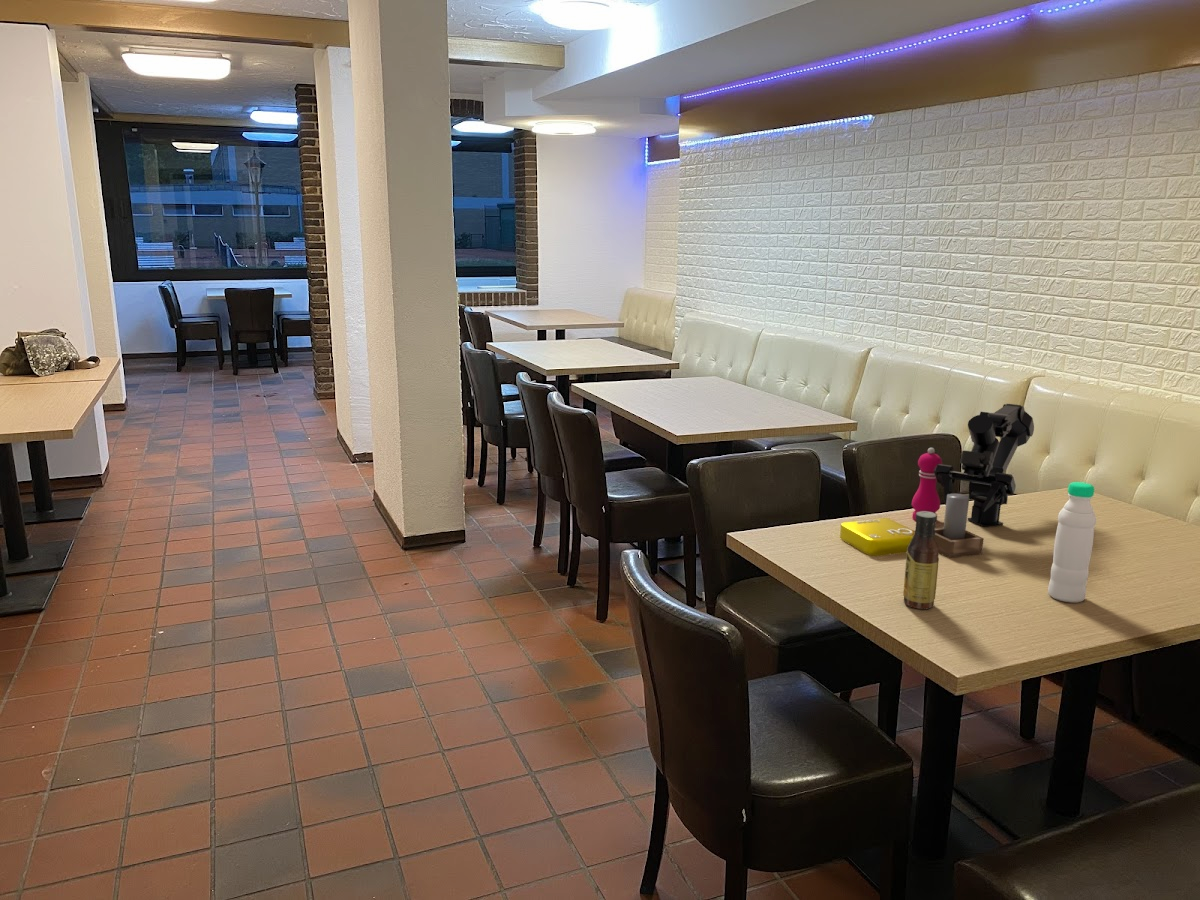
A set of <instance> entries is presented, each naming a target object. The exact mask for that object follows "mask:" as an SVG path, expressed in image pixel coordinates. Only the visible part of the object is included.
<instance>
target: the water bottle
mask: <svg viewBox="0 0 1200 900" xmlns="http://www.w3.org/2000/svg"><path fill="white" fill-rule="evenodd" d="M1067 493H1068V494H1067V495H1068V498H1069V499H1068V500H1067V502H1065V504H1064V506H1063V507H1062V509H1060V511H1059V513H1058V516H1057V519H1058V523H1057V527H1056V531H1055V532H1056V533H1055V537H1054V545H1053V556H1052V557H1053V561H1052V564H1051V568H1050V580H1049V583H1048V589H1047V590H1048V591H1047V592H1048V595H1049V596H1050V597H1052V598H1053V599H1055V600H1057V601H1060V602H1065V603H1070V604H1071V603H1072V604H1074V603H1075V604H1076V603H1081V602H1083V601H1084V600H1085V598H1086V595H1087V581H1088V578H1089V566H1090V562H1091V557H1092V551H1093V545H1094V539H1095V538H1094V536H1095V527H1096V524H1097V517H1096V516H1097V515H1096V514H1095V511H1094V507H1093V506H1092V503H1091V500H1092V499H1093V496H1094V494H1095V486H1093V484H1091V483H1087V482H1082V481H1079V482H1078V481H1076V482H1075V481H1074V482H1070V483H1069V484H1068V487H1067Z"/></svg>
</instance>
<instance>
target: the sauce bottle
mask: <svg viewBox="0 0 1200 900" xmlns="http://www.w3.org/2000/svg"><path fill="white" fill-rule="evenodd" d="M936 514H937V513H936ZM936 514H935V513H933V512H928V511H921V512H917V513H916V518H915V519H916V521H915V530H914V531H915V534H914V536H913V538H912V540H911V542H910V544H909V546H908V548H907V553H906V558H905V568H904V580H903V581H904V582H903V593H902V594H903V595H902V596H903V602H904V604H905V605H906V606H908V607H910V608H913V609H918V610H927V609H930V608H933V606H935V605H934V603H935V599H936V592H937V581H938V572H939V561H940V559H939V554H940V553H939V545H938V543H937V541H936V539H935V537H934V535H935V529H936V523H937V521H938V514H937V515H936Z"/></svg>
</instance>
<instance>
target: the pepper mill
mask: <svg viewBox="0 0 1200 900" xmlns="http://www.w3.org/2000/svg"><path fill="white" fill-rule="evenodd" d="M935 452H936V451H935V448H934V447H929V448H928V449H927V452H926V453H923V454H921V455H920V457H919V459H918V460H917V466H918V467H919V469H920V470H919V471H918V476H919V478H920V479H919V480H920V481H919V486H918V488H917V491H916V492H915V494H914V495H913V498H912V500H911V507H912V508H913V509H914V510H913V511H912V517H911V519H912V520H913V521H915V522H916V519H915V518H916V513H917V512H921V511H928V512H933V513H935V514H936V515H937V516H938V514H937V512H939V510H940V509H941V508H940V507H941V500H940V496H939V494H938V491H937V479H936V477H935V474H934V469H935V467H936V466H937V465H938V464H943V460H942V457H940V455H939V454H936V453H935Z"/></svg>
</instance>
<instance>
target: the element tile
mask: <svg viewBox="0 0 1200 900" xmlns="http://www.w3.org/2000/svg"><path fill="white" fill-rule="evenodd" d="M914 534H915V530H914V529H912V528H910V527H908V526H905V525H904V524H901V523H899V522H898V521H896V520H893V519H891V518H886V517H884V518H874V519H866V520H864V519H863V520H854V521H845V522H842V523H841V524H840V532H839V539H840V538H841V539H842V540H841V539H840V540H841V541H843V540H844V541H843V542H845V541H846V542H847V543H846V542H845V543H846V544H848V543H849V544H848V545H850V544H851V545H852V547H853V546H854V548H855V549H857V550H858V549H859V550H858V551H861V553H863V554H865V555H868V556H872V557H880V556H881V555H882V556H888V555H889V556H891V555H899V554H907V548H908V546H909V544H910V542H911V540H912V538H913V536H914ZM851 545H850V546H851ZM890 554H891V555H890Z"/></svg>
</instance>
